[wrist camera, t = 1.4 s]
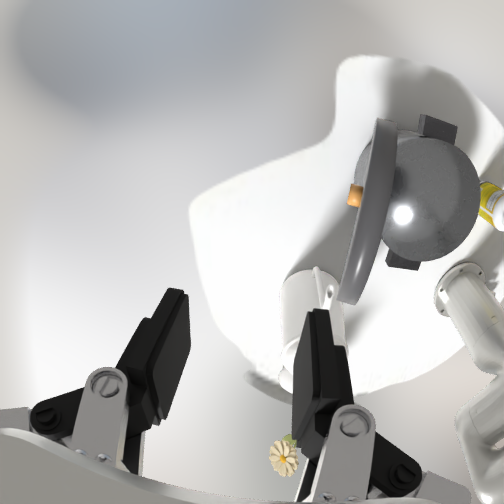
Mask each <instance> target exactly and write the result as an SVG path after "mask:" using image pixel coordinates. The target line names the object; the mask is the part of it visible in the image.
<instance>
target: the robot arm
mask: <svg viewBox="0 0 504 504" xmlns="http://www.w3.org/2000/svg"><path fill="white" fill-rule="evenodd" d="M434 304H435V307H436V309H437V311H438V312H439V313H440V314H441V315H443V316H446V317H450V318H451V320H452V322H453V323H454V325H455V327H456V329H457V331H458V332H459V334H460V336H461V338H462V340H463V342H464V344H465V346H466V347H467V349H468V351H469V353H470V355H471V357H472V359H473V361H474V363H475V364H476V366H477V367H478V368H479V369H480V370H481V371H483V372H486V373H489V374H494V375H497V376H496V377H495V379H494V380H493V381H492V382H490V384H489V385H488V386H486V387H485V388H484V389H483V390H482V391H480V392H479V393H478V394H477V395H475V397H473V398H472V399H470V400H469V401H468V402H467V403H466V404H464V405H463V406H462V407H461V408H460V409H459V411H458V412H457V414H456V416H455V429H456V433H457V437H458V440H459V443H460V446H461V448H462V451H463V454H464V458H465V461H466V464H467V467H468V470H469V474H470V477H471V481H472V484H473V487H474V490H475V493H476V495H477V497H478V499H479V500H480V501H481V503H482V504H504V447H502V448H500V449H498V448H497V447H496V446H495V443H497V442H498V441H500V440H501V439H502V438H504V309H503V307H502V306H501V305H500V303H499V302H498V301H497V299H496V298H495V292H494V291H490V290H489V289H488V288H487V287H486V285H485V274H484V272H483V270H482V269H481V268H480V267H479V266H478V265H477V264H475V263H470V262H468V263H462V264H459V265H457V266H455V267H454V268H452V269H451V270H450V271H448V272H447V273H446V274H445V275H444V277H443V278H442V279H441V281H440V282H439V284H438V286H437V288H436V290H435V294H434ZM190 347H191V338H190V319H189V297H188V295H187V294H184V291H183V290H180V289H174V288H168V289H167V291H166V293H165V294H164V296H163V298H162V300H161V301H160V303H159V305H158V307H157V309H156V310H155V312H154V314H153V316H152V317H151V318H146V317H145V318H143V320H142V321H141V322H140V324H139V326H138V327H137V329H136V331H135V333H134V335H133V336H132V338H131V340H130V342H129V343H128V345H127V347H126V349H125V351H124V353H123V354H122V356H121V358H120V360H119V361H118V364H117V365H116V367H115V368H112V367H103V368H100V369H97V370H95V371H94V372H93V373H91V374H90V375H89V377H88V379H87V381H86V384H85V387H83V388H80V389H77V390H75V391H72V392H69V393H65V394H62V395H59V396H57V397H53V398H50V399H47V400H44V401H41V402H39V403H38V404H36V405H35V406H34V408H33V409H29V408H28V407H22V408H13V409H3V410H0V504H470V503H471V494H470V492H469V490H468V489H467V488H466V487H465V486H463V485H460V484H458V483H455V482H452V481H450V480H448V479H445V478H443V477H441V476H438V475H436V474H434V473H432V472H430V471H427V472H426V473H425V472H423V471H422V470H421V467H420V466H419V464H418V463H417V462H416V461H415V460H414V459H412V458H411V457H409V456H408V455H407V454H405V453H404V452H403V451H401V450H400V449H399V448H397V447H396V446H394V445H393V444H392V443H390V442H389V441H388V440H386V439H385V438H384V437H382V436H381V435H380V434H378V433H377V432H376V431H375V429H376V424H375V419H374V417H373V415H372V414H371V413H370V412H369V411H368V410H367V409H366V408H364V407H362V406H359V405H354V400H353V393H352V386H351V379H350V373H349V366H348V360H347V354H346V349H345V347H344V346H343V345H334V340H333V333H332V326H331V320H330V313H329V310H328V309H319V308H314V309H313V311H312V312H310V311H308V312H307V315H306V318H305V322H304V326H303V330H302V333H301V337H300V340H299V344H298V348H297V351H296V355H295V358H294V363H293V404H292V440H297V442H296V447H298V448H302V449H301V452H302V454H304V455H305V456H306V457H307V460H306V463H305V467H304V470H303V474H302V477H301V480H300V483H299V486H298V490H297V493H296V496H295V499H294V502H281V501H265V500H255V499H244V498H237V497H230V496H223V495H217V494H211V493H206V492H200V491H196V490H191V489H186V488H182V487H178V486H174V485H170V484H166V483H162V482H158V481H155V480H151V479H148V478H145V477H142V467H143V453H144V441H145V431H146V430H148V429H150V428H151V426H152V424H154V425H158V426H159V425H160V422H161V419H164V420H166V418H167V416H168V413H169V410H170V407H171V404H172V401H173V398H174V395H175V393H176V390H177V387H178V384H179V381H180V378H181V375H182V372H183V369H184V367H185V364H186V360H187V358H188V355H189V352H190Z"/></svg>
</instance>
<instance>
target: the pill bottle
mask: <svg viewBox="0 0 504 504" xmlns="http://www.w3.org/2000/svg"><path fill="white" fill-rule="evenodd" d="M480 189H481V202H480V208H479V213H478V215H480V216H481V217H482V218H484V219H485V220H486V221H488V222H489V223H490V224H491V225H493V226H494V227H495V228H496V229H498V230H499V231H502V232H504V190H502V189H501V188H499V187H497V186H495V185H493V184H491V183H489V182H487V181H482V182H480Z"/></svg>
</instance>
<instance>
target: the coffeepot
mask: <svg viewBox="0 0 504 504" xmlns="http://www.w3.org/2000/svg"><path fill="white" fill-rule="evenodd" d="M338 290H339V284H338V282H337V281H336V280H335V278H334V277H332V276H331V275H330V274H328V273H326V272H324V271H321V270H320V269H319V267H317V266H315V267H314V268H313V269H309V270H303V271H299V272H297V273H295V274H293V275H291V276H290V277H289V278H288V279H287V280H286V281H285V282H284V283H283V285H282V287H281V289H280V293H279V303H280V317H281V331H282V346H283V349H282V354H281V359H282V363H283V365H284V366H285V368H286V369H287V370H289V372H290V373H291V374H293V363H294V358H295V355H296V351H297V348H298V344H299V340H300V337H301V333H302V330H303V326H304V322H305V318H306V315H307V312H308V311H310V312H312V311H313V309H314V308H319V309H328V310H329V313H330V320H331V326H332V333H333V340H334V345H343V346H344V347H345V349H346V354H347V358H348V346H347V344H346V338H345V326H344V316H343V306H342V302H341V301H337V300H336V298H337V294H338Z"/></svg>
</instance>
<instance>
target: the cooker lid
mask: <svg viewBox="0 0 504 504" xmlns="http://www.w3.org/2000/svg"><path fill="white" fill-rule="evenodd" d="M397 141H398V131H397V124H396V122H392V121H388V120H385V119H380V118H377V119H376V123H375V128H374V133H373V138H372V144H371V149H370V154H369V159H368V164H367V169H366V174H365V179H364V184H363V186H359V185H355V184H351V187H350V192H349V196H348V201H347V204H348V205H352V206H356V207H358V212H357V216H356V220H355V225H354V229H353V233H352V237H351V242H350V246H349V250H348V254H347V258H346V262H345V266H344V270H343V274H342V278H341V282H340V286H339V290H338V294H337V298H336V300H337V301H341V302H344V303H348V304H352V305H355V304H356V303H357V302H358V300H359V298H360V296H361V294H362V292H363V290H364V287H365V285H366V282H367V280H368V277H369V275H370V272H371V269H372V266H373V263H374V260H375V257H376V254H377V250H378V247H379V243H380V240H381V236H382V232H383V229H384V225H385V221H386V216H387V212H388V207H389V202H390V197H391V192H392V186H393V180H394V173H395V165H396V156H397Z"/></svg>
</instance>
